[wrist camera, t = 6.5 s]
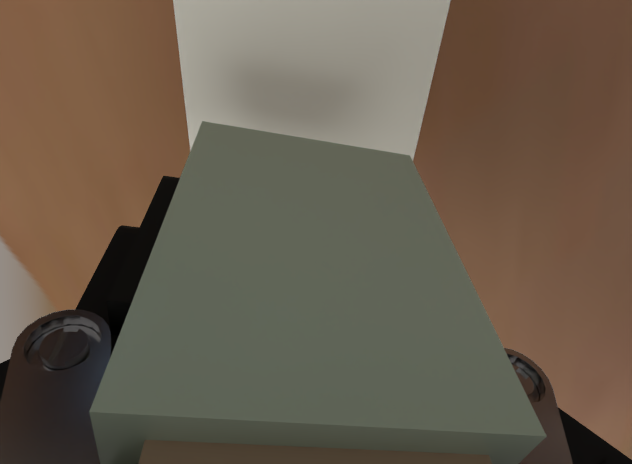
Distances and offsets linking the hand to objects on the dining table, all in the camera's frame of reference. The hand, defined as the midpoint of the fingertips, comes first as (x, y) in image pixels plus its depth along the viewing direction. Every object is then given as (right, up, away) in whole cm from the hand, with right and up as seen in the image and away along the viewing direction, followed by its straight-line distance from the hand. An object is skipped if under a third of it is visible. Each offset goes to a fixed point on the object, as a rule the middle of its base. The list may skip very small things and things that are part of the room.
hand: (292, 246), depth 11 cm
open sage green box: (0, +1, +1) cm, 1 cm away
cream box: (0, +9, +12) cm, 15 cm away
